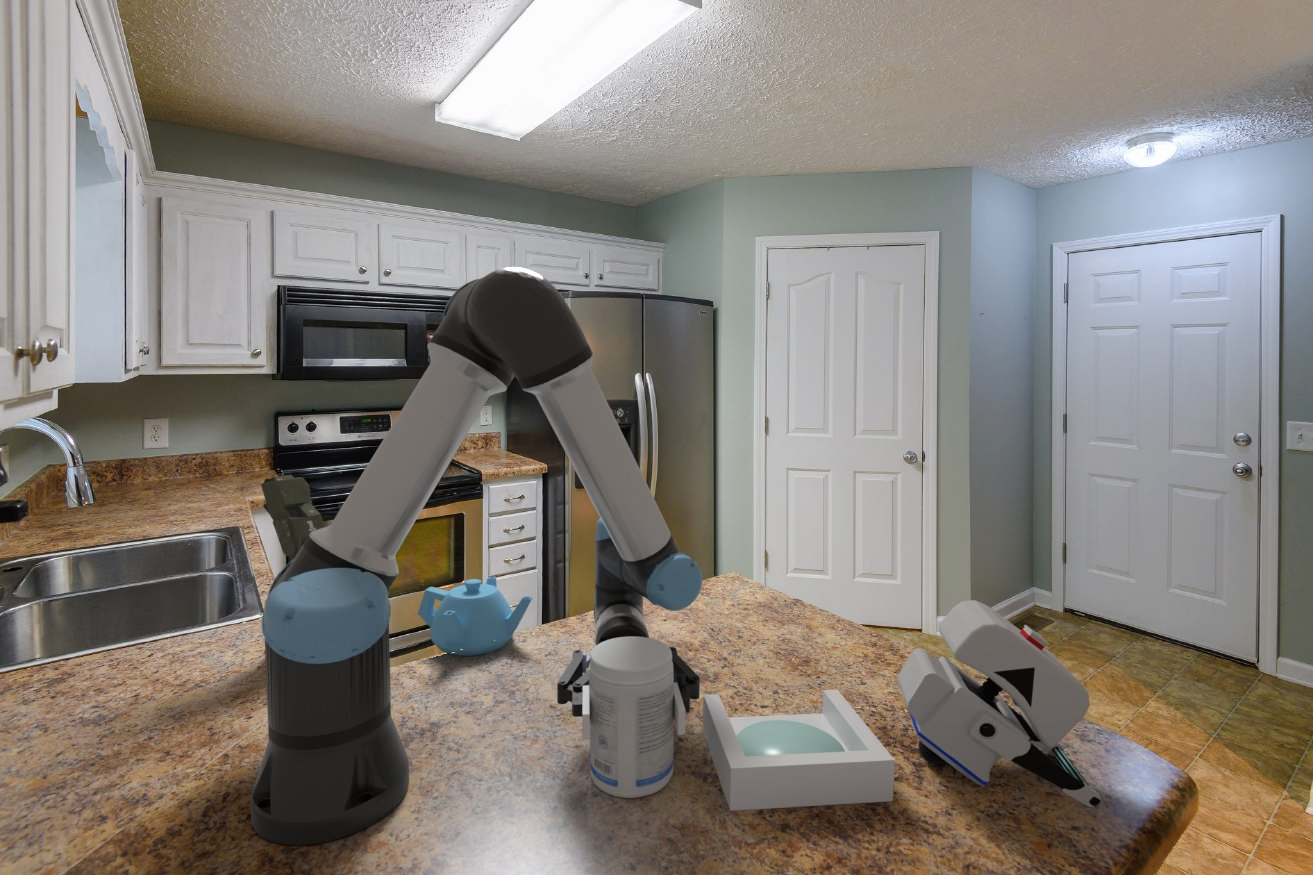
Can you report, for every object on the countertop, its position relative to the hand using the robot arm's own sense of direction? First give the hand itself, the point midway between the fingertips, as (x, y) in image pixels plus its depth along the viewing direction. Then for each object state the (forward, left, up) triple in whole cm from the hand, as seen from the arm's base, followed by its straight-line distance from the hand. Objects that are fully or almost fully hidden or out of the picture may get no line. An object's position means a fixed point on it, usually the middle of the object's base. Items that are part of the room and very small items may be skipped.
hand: (634, 724), depth 69 cm
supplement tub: (0, +4, -9) cm, 10 cm away
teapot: (-24, +44, -9) cm, 51 cm away
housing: (+19, +5, -8) cm, 22 cm away
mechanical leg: (-52, +43, -9) cm, 68 cm away
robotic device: (+42, +2, -9) cm, 43 cm away
